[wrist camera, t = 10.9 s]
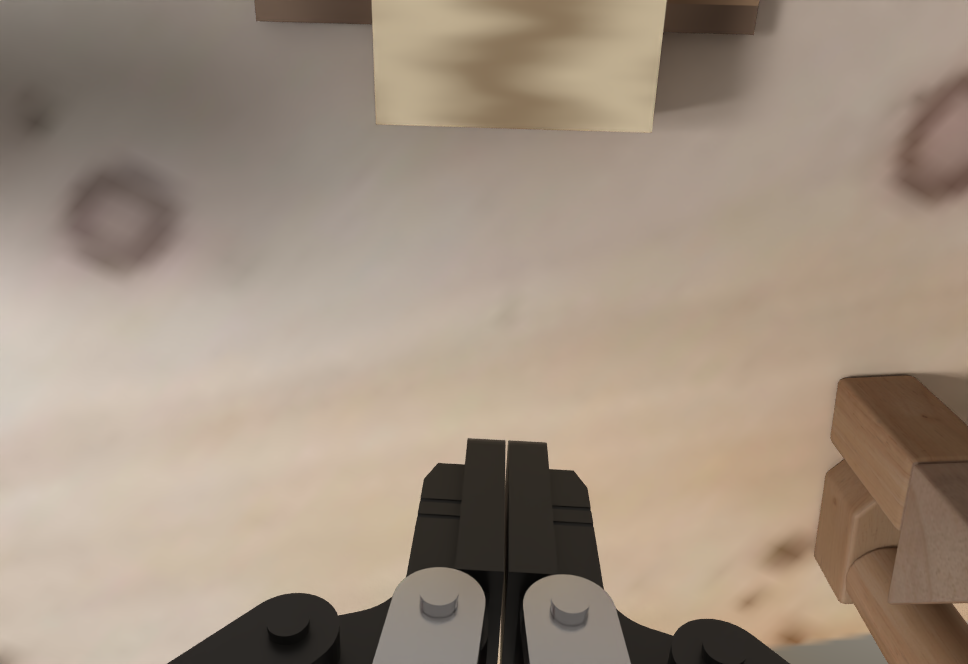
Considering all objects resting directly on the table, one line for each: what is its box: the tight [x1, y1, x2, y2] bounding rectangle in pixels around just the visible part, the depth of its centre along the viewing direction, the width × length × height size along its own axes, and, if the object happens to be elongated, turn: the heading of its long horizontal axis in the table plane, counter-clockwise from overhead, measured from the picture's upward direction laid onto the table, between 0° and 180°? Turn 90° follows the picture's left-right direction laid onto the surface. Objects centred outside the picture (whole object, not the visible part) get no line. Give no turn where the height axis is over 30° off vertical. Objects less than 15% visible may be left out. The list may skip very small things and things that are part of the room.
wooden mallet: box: [814, 375, 968, 664], centre depth 29 cm, size 4×11×18 cm, turn 4°
